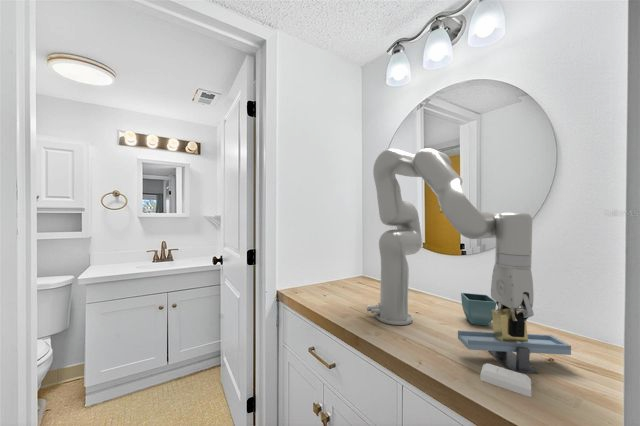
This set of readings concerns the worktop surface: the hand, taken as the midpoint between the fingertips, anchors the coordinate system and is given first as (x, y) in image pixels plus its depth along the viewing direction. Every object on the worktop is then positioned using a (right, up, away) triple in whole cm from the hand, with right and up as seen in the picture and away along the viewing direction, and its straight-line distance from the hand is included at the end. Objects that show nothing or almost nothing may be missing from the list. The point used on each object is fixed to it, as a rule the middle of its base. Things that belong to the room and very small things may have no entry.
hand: (510, 331), depth 69 cm
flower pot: (+6, -8, +26) cm, 28 cm away
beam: (0, -3, 0) cm, 3 cm away
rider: (0, -2, 0) cm, 2 cm away
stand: (0, -8, 0) cm, 8 cm away
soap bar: (-8, -8, -9) cm, 14 cm away
